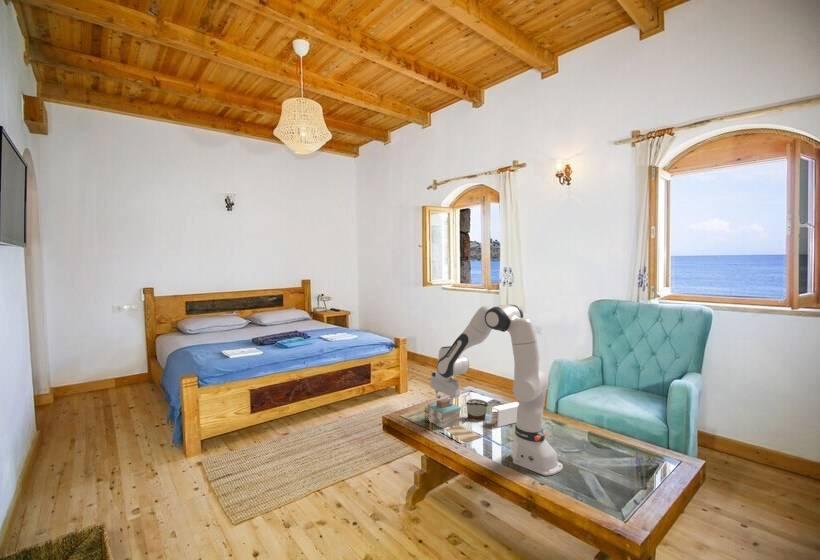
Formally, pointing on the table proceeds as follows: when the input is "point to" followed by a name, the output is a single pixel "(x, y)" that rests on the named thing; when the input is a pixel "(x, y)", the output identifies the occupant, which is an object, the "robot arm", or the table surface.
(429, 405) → the lid
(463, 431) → the mat
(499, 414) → the cigarette display
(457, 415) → the box
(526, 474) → the table surface
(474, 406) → the food container
